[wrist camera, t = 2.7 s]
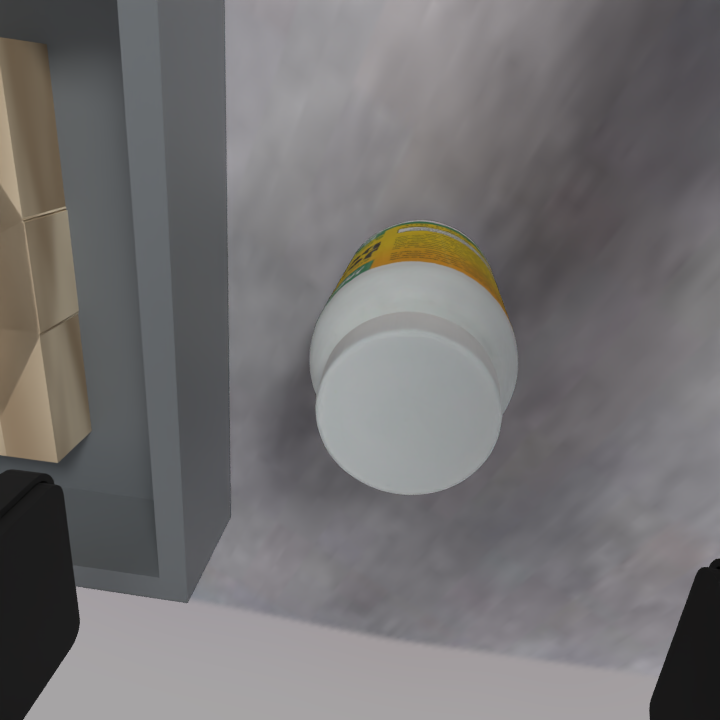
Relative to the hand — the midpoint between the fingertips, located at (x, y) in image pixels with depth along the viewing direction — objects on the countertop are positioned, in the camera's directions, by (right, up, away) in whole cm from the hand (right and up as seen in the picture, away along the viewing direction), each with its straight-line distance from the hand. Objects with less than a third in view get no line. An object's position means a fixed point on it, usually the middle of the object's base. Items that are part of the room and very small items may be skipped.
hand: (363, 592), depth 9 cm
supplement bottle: (+2, +6, +13) cm, 14 cm away
